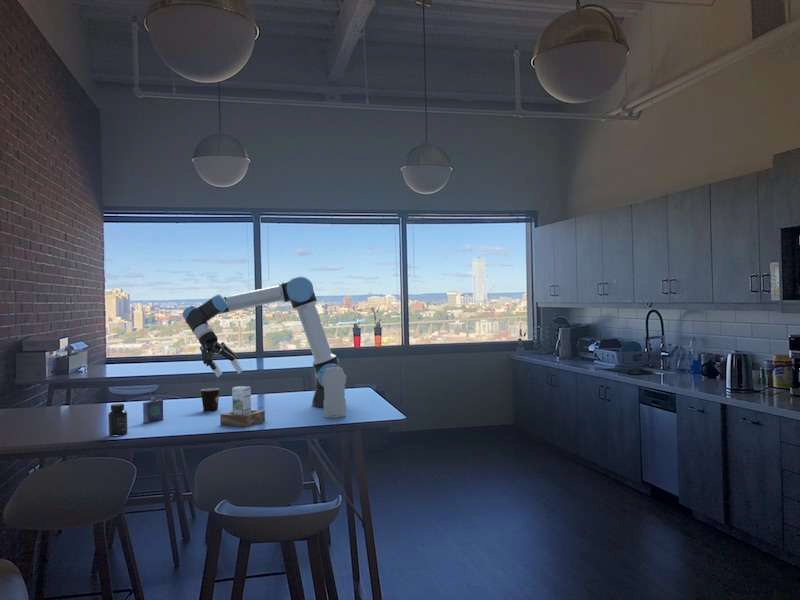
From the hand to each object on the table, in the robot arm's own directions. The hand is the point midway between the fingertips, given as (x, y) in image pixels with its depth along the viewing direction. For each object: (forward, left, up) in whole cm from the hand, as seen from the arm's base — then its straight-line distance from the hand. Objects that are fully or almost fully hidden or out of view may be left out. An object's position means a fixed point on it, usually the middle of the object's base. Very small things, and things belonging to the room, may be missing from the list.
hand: (230, 373), depth 274 cm
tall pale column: (-44, -8, -21) cm, 49 cm away
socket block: (-7, +6, -20) cm, 22 cm away
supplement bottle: (+36, +28, -21) cm, 50 cm away
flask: (+35, +2, -21) cm, 41 cm away
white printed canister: (-7, +6, -20) cm, 22 cm away
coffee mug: (+19, -25, -21) cm, 37 cm away
